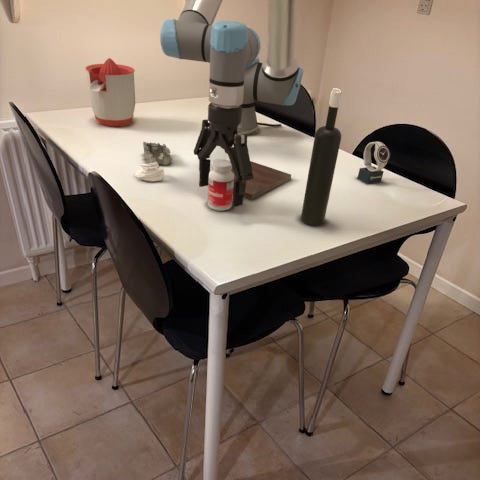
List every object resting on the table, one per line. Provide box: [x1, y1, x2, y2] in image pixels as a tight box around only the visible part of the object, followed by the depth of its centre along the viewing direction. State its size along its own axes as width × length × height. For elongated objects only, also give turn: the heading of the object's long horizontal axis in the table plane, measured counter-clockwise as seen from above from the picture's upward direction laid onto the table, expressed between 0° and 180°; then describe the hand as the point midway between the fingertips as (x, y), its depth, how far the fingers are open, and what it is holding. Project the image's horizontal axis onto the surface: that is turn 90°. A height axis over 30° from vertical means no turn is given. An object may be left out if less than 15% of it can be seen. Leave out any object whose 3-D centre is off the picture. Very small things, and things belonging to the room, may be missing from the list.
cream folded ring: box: [134, 162, 165, 183], centre depth 129 cm, size 8×7×5 cm
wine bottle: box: [300, 87, 343, 227], centre depth 108 cm, size 6×6×30 cm
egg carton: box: [142, 141, 172, 166], centre depth 141 cm, size 11×8×4 cm
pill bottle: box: [207, 158, 234, 212], centre depth 117 cm, size 6×6×11 cm
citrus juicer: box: [85, 57, 136, 128], centre depth 160 cm, size 16×17×20 cm
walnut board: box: [231, 160, 292, 201], centre depth 134 cm, size 20×16×2 cm
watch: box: [356, 141, 391, 185], centre depth 139 cm, size 6×8×11 cm
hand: (220, 195), depth 118 cm, fingers open, 13 cm apart
